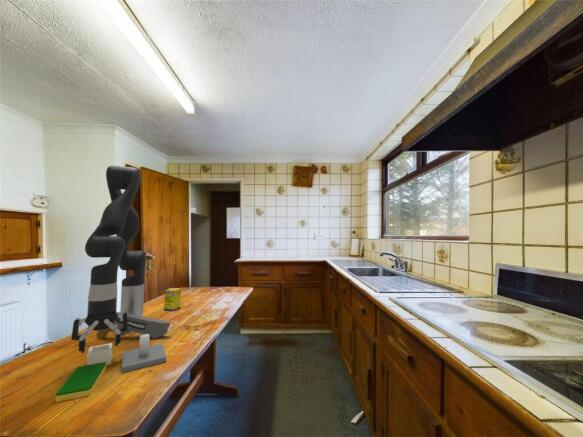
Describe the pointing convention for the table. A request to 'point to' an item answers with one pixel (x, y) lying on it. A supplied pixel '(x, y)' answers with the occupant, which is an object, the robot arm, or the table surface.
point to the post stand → (143, 355)
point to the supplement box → (172, 299)
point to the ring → (100, 354)
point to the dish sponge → (81, 382)
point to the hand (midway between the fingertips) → (100, 348)
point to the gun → (139, 326)
